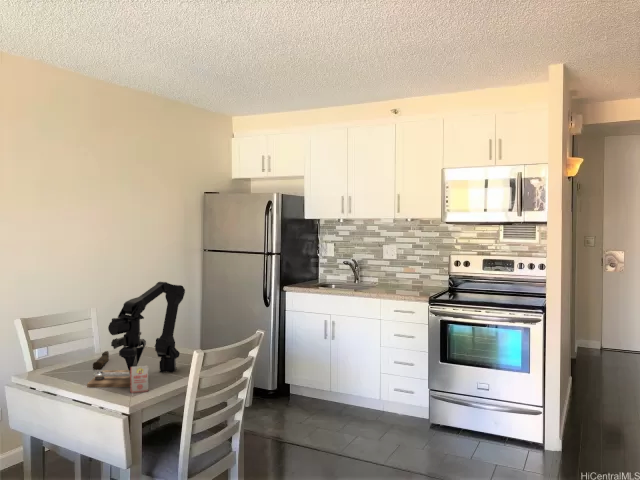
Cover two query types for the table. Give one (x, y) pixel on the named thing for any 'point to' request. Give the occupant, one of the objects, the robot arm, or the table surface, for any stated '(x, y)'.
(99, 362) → the hand tool
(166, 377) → the table surface
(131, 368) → the white red carton
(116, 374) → the lever
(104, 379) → the lever board
